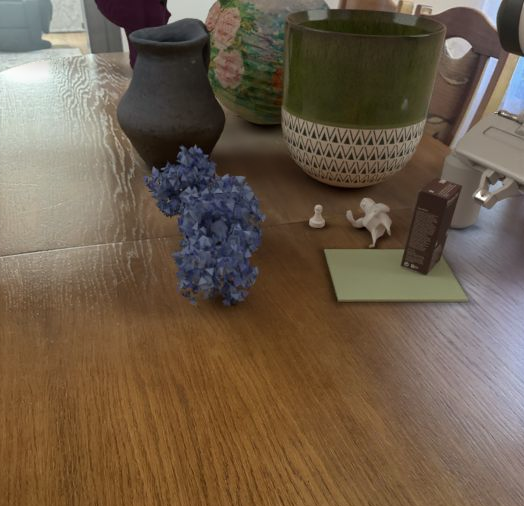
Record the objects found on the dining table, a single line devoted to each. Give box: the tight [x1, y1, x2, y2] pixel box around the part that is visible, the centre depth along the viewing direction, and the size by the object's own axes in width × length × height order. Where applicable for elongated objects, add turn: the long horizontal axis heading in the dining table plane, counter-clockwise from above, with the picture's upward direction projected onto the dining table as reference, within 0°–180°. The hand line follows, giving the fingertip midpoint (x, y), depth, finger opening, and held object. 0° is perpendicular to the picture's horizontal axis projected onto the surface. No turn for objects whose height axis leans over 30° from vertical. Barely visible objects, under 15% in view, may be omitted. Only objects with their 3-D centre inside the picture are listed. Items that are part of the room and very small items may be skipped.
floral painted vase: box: [203, 0, 331, 125], centre depth 127 cm, size 32×33×30 cm
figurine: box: [345, 197, 393, 249], centre depth 91 cm, size 6×6×12 cm
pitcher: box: [116, 17, 227, 174], centre depth 105 cm, size 21×22×25 cm
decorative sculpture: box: [143, 144, 266, 307], centre depth 78 cm, size 14×15×30 cm
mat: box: [323, 248, 469, 303], centre depth 82 cm, size 18×14×1 cm
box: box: [400, 177, 462, 275], centre depth 80 cm, size 6×4×12 cm
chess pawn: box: [308, 204, 326, 229], centre depth 93 cm, size 3×3×4 cm
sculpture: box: [93, 0, 172, 71], centre depth 160 cm, size 18×22×30 cm
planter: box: [281, 8, 448, 189], centre depth 101 cm, size 27×27×27 cm
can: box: [440, 146, 483, 229], centre depth 93 cm, size 8×8×12 cm
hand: (479, 203), depth 82 cm, fingers closed
